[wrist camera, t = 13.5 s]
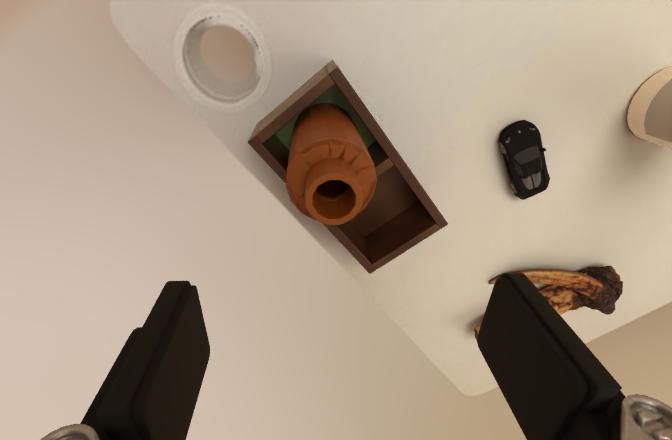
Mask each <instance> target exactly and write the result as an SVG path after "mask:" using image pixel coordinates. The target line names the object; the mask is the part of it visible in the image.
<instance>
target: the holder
mask: <svg viewBox="0 0 672 440" xmlns="http://www.w3.org/2000/svg"><path fill="white" fill-rule="evenodd" d="M317 103H332V104H335V105H338V106H340V107H341V108H343V109H344V110H345V111H346V112H348V114H349V115H350V116H351V118H352V120H353V121H354V123H355V125H356V127H357V129H358V131H359V133H360V135H361V138H362V140H363V142H364V144H365V146H366V148H367V150H368V152H369V154H370V157H371V159H372V161H373V163H374V167H375V172H376V177H377V182H376V186H375V191H374V195H373V197H372V198H371V200H370V201H369V202H368V204H367V205H366V207H365V208H364V209H363V210H362V211H360V212H359V213H357V214H356V216H355V217H354V218H353V219H351V220H349V221H347V222H345V223H343V224H340V225H325V224H324V225H325V226H326V227H327V228H328V229H329V231H330V232H331V233H332V234H333V235H334V236H335V237H336V238H337V239H338V240H339V241H340V242H341V243H342V245H343V246H344V247H345V248H346V249H347V250H348V251H349V252H350V253H351V254H352V255H353V256H354V257H355V259H356V260H357V261H358V262H359V263H360V264H361V265H362V266H363V267H364V268H365V269H366V270H367V271H368V273H372V272H374V271H375V270H376V269H378V268H380V267H382V266H383V265H385V264H386V263H388V262H389V261H391V260H393V259H394V258H396V257H397V256H399V255H400V254H402V253H404V252H405V251H407V250H408V249H410V248H411V247H413V246H415V245H416V244H418V243H419V242H421V241H422V240H424V239H426V238H427V237H429V236H430V235H432V234H433V233H435V232H437V231H438V230H440V229H441V228H443V227H445V226H446V225H448V223H447V222H446V220H445V219H444V217H443V216H442V215H441V213H440V212H439V210H438V209H437V207H436V206H435V205H434V203H433V202H432V200H431V199H430V197H429V196H428V195H427V193H426V192H425V190H424V189H423V187H422V186H421V185H420V183H419V182H418V180H417V179H416V177H415V176H414V175H413V173H412V172H411V170H410V169H409V168H408V166H407V165H406V163H405V162H404V160H403V159H402V158H401V156H400V155H399V153H398V152H397V150H396V149H395V148H394V146H393V145H392V143H391V142H390V140H389V139H388V138H387V136H386V135H385V133H384V132H383V131H382V129H381V128H380V126H379V125H378V123H377V122H376V121H375V119H374V118H373V116H372V115H371V113H370V112H369V111H368V109H367V108H366V106H365V105H364V103H363V102H362V101H361V99H360V98H359V96H358V95H357V93H356V92H355V91H354V89H353V88H352V86H351V85H350V84H349V82H348V81H347V79H346V78H345V76H344V75H343V74H342V72H341V71H340V69H339V68H338V66H337V65H336V64H335V62H334V61H333V60H332V61H331V62H330V63H328V64H327V65H326V66H325V67H324V68H322V69H321V70H320V71H319V72H318V73H317V74H315V75H314V76H313V77H312V78H311V79H310V80H308V81H307V82H306V83H305V84H304V85H302V86H301V87H300V88H299V89H298V90H297V91H295V92H294V93H293V94H292V95H291V96H290V97H288V98H287V99H286V100H285V101H284V102H282V103H281V104H280V105H279V106H278V107H277V108H275V109H274V110H273V111H272V112H271V113H270V114H268V115H267V116H266V117H265V118H264V119H262V120H261V121H260V122H259V123H258V124H257V125H256V127H255V129H254V131H253V133H252V135H251V137H250V139H249V141H248V143H249V144H250V145H251V147H252V148H253V149H254V150H255V151H256V152H257V153H258V154H259V155H260V156H261V157H262V158H263V159H264V161H265V162H266V163H267V164H268V165H269V166H270V167H271V168H272V169H273V170H274V171H275V172H276V173H277V175H278V176H279V177H280V178H281V179H282V180H283V181H284V182H285V183H286V176H287V167H288V161H289V154H290V147H291V141H292V134H293V128H294V124H295V122H296V120H297V118H298V117H299V115H300V114H301V113H302V112H303V111H304V110H305V109H306V108H308V107H310V106H312V105H314V104H317Z"/></svg>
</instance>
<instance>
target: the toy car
mask: <svg viewBox="0 0 672 440" xmlns="http://www.w3.org/2000/svg"><path fill="white" fill-rule="evenodd" d="M499 142H500V148H501V150H502V152H503V153H502V154H503V157H504V159H505V163H506V167H507V171H508V174H509V178H510V181H511V183H510V185H511V189H512V190H513V192H514V194H515V196H517V197H519V198H520V199H526V198H529V197H531V196H533V195H536V194H538V193H540V192H542V191H544V190H546V188H547V187H548V184H549V180H550V177H549V174H548V172H547V167H546V162H545V157H544V151H546V149H545V148H543V147H542V142H541V136H540V132H539V130H538V129H537V127H536V126H535V125H534V124H532V123H531V122H528V121H526V120H521V121H517V122H515V123H513V124H511V125H509V126H507V127H506V128H505V129H504V130H503V131H502V132H501V135H500V138H499Z"/></svg>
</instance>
